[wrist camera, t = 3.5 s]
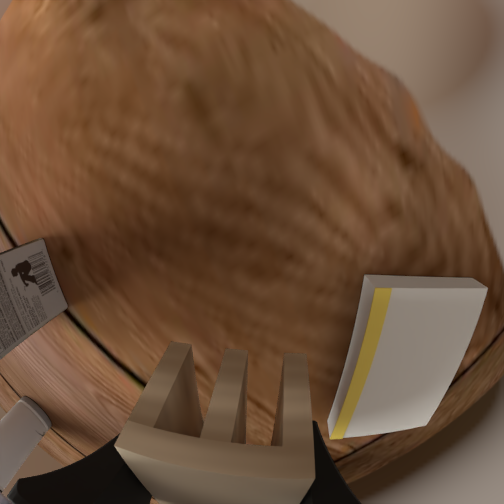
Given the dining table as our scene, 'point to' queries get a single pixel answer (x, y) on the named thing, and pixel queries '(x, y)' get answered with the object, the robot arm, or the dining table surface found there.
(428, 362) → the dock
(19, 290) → the coffee box
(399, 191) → the dining table surface
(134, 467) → the slotted cream block
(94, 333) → the dining table surface
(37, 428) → the travel mug
